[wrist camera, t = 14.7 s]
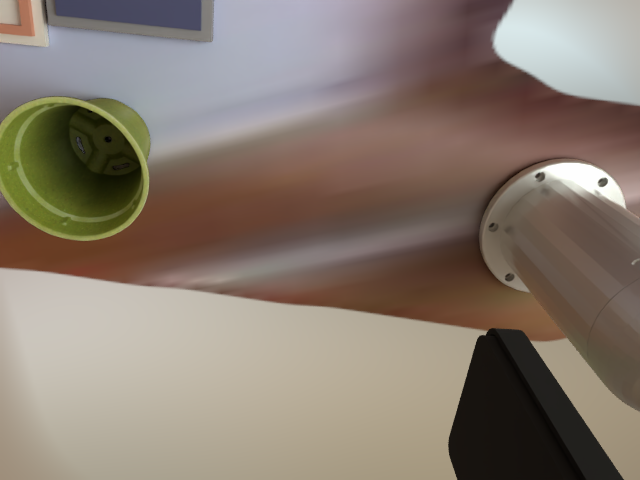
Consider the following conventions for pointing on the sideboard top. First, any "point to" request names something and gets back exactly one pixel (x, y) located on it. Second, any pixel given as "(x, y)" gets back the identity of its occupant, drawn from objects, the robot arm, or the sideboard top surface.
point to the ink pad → (137, 17)
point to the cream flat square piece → (23, 22)
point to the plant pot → (75, 166)
